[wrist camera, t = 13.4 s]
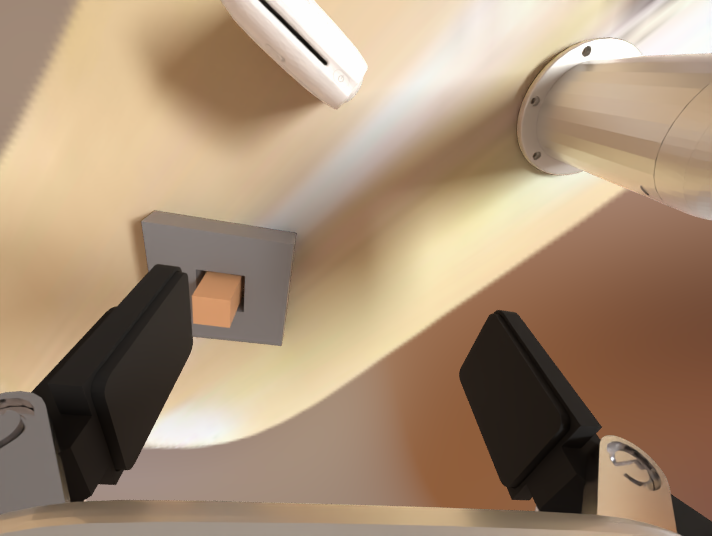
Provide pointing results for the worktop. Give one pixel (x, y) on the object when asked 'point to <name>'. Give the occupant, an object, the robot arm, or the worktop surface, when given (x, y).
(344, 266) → the worktop surface
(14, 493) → the robot arm
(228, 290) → the orange rectangular block
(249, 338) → the grey square hole board
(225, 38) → the worktop surface
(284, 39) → the photo printer
